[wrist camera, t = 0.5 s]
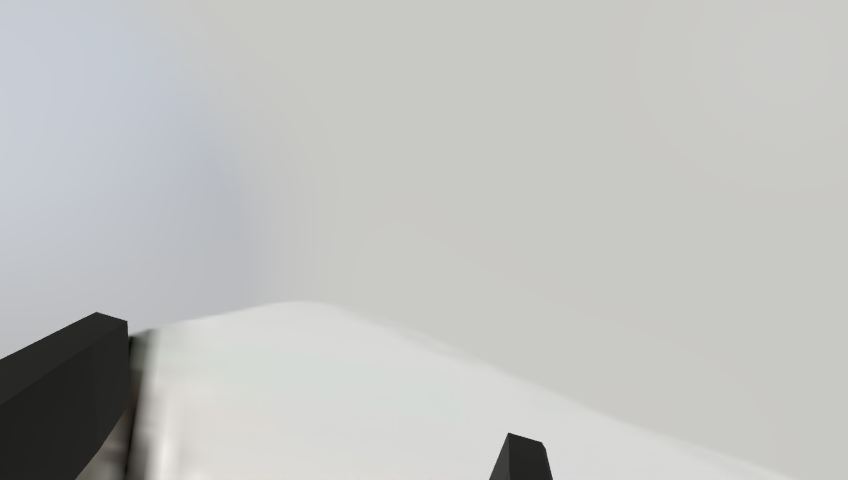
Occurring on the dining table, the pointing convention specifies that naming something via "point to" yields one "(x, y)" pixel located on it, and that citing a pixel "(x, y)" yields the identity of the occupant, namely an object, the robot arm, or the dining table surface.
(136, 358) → the dining table surface
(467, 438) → the dining table surface
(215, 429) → the dining table surface
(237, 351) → the dining table surface
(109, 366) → the robot arm
